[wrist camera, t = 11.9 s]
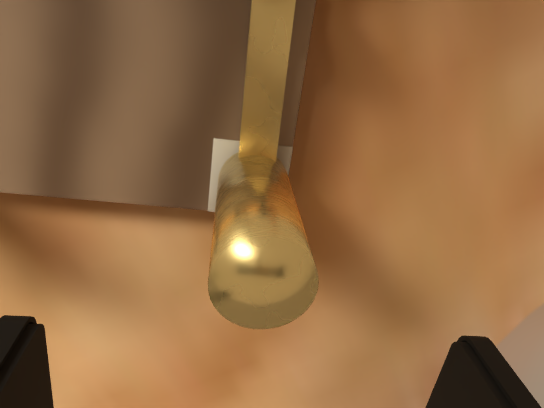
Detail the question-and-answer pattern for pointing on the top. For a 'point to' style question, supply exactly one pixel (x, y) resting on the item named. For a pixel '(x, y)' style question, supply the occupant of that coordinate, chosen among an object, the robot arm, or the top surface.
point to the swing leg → (261, 195)
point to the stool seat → (130, 97)
